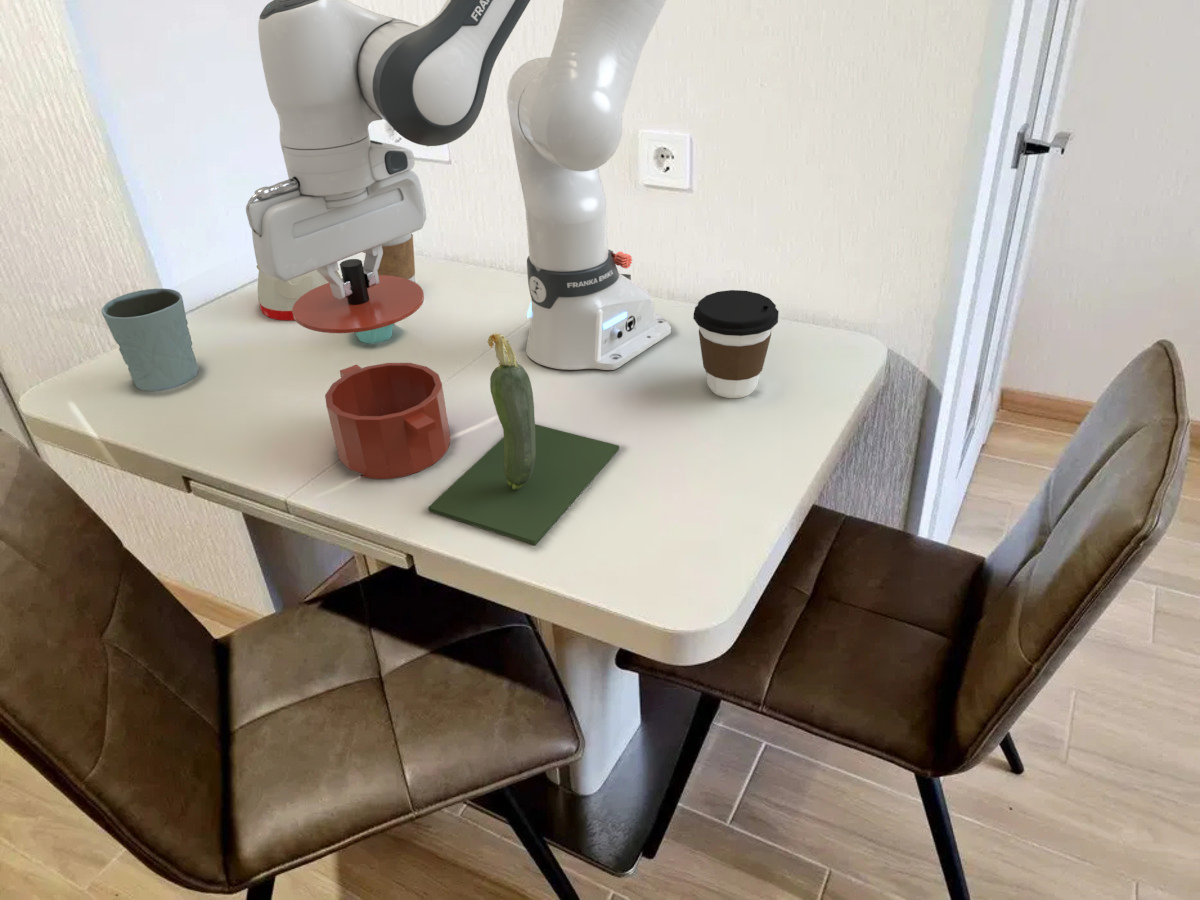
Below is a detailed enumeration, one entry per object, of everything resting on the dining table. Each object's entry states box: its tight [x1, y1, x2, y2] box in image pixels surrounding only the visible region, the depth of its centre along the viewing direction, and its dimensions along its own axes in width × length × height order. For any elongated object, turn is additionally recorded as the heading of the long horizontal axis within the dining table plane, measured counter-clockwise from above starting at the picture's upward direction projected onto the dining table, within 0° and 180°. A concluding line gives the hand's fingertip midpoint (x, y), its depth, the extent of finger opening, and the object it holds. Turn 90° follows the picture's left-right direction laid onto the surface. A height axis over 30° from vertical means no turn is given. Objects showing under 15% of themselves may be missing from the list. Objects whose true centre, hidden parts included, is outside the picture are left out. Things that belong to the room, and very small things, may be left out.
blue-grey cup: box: [100, 288, 199, 392], centre depth 123 cm, size 10×10×12 cm
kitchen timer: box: [256, 265, 342, 321], centre depth 143 cm, size 14×14×15 cm
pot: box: [324, 362, 452, 480], centre depth 107 cm, size 14×19×8 cm
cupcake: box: [354, 323, 395, 345], centre depth 132 cm, size 9×8×12 cm
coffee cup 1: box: [377, 233, 417, 283], centre depth 144 cm, size 8×8×15 cm
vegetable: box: [487, 332, 536, 490], centre depth 94 cm, size 4×4×20 cm
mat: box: [427, 423, 620, 546], centre depth 103 cm, size 20×14×1 cm
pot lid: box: [292, 258, 425, 334], centre depth 98 cm, size 15×15×6 cm
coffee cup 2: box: [692, 289, 780, 399], centre depth 115 cm, size 11×11×12 cm
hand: (356, 290), depth 99 cm, fingers closed on pot lid, 2 cm apart
